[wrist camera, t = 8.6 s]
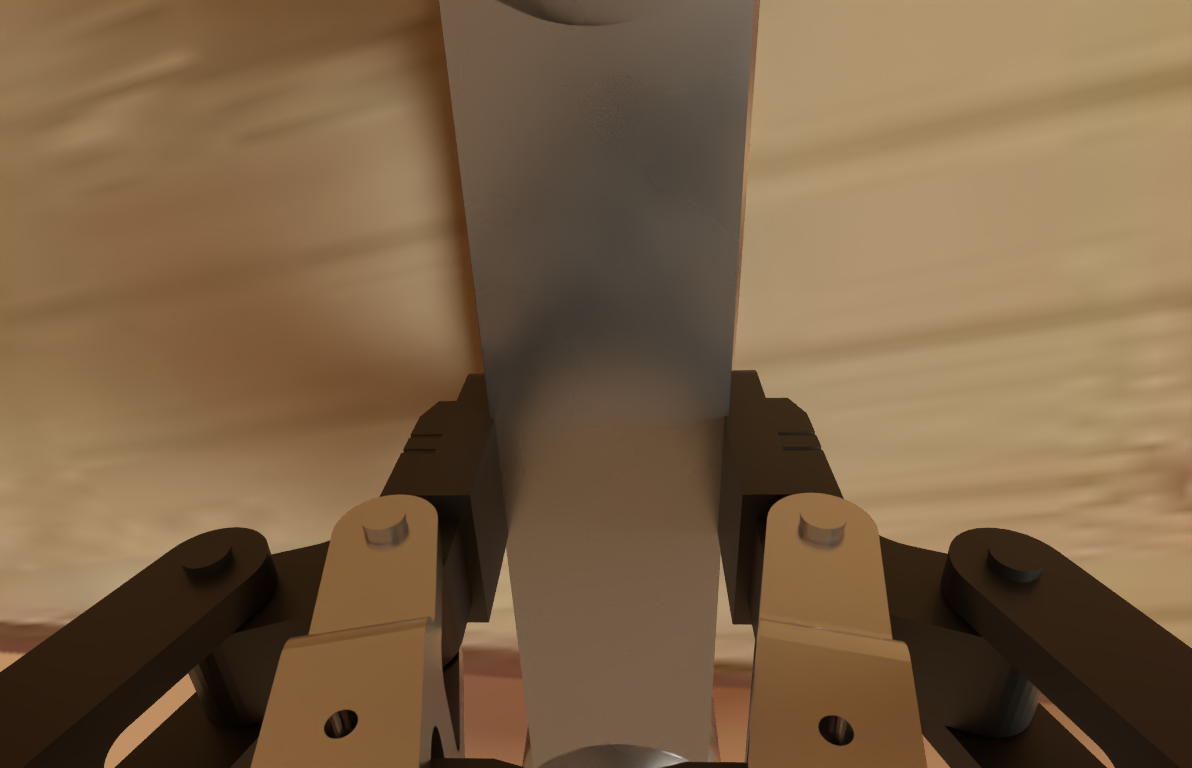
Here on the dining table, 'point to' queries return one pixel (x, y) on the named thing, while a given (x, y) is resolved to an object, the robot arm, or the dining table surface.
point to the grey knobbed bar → (607, 347)
